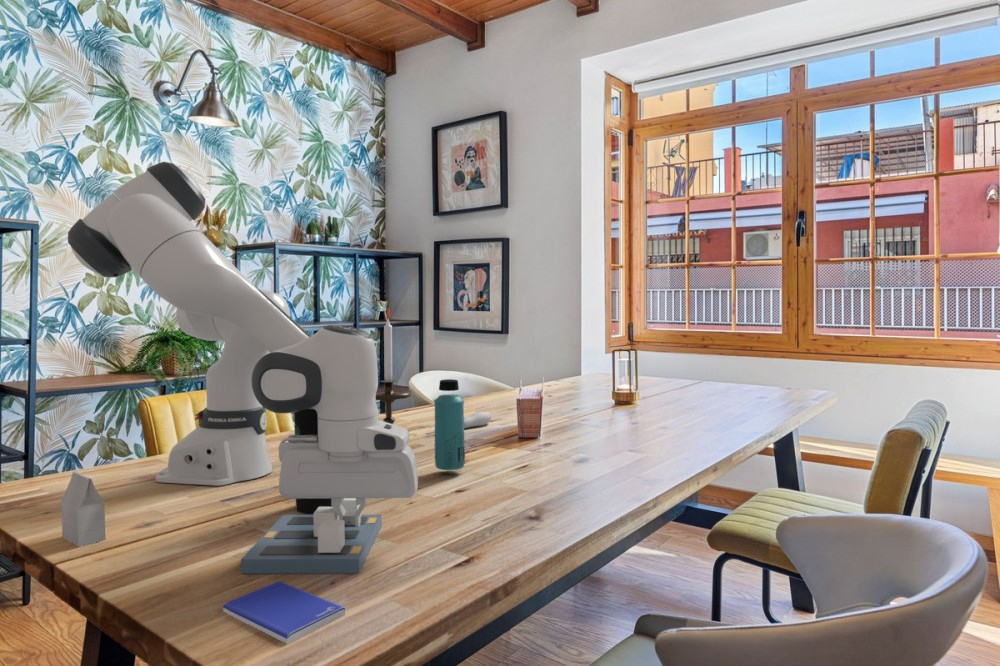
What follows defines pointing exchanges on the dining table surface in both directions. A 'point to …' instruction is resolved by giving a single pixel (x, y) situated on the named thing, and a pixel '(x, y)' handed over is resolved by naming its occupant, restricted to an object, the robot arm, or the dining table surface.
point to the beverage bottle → (449, 428)
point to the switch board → (309, 548)
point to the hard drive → (283, 611)
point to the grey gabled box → (82, 512)
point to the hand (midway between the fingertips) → (350, 525)
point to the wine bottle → (304, 426)
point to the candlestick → (389, 376)
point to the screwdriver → (474, 420)
